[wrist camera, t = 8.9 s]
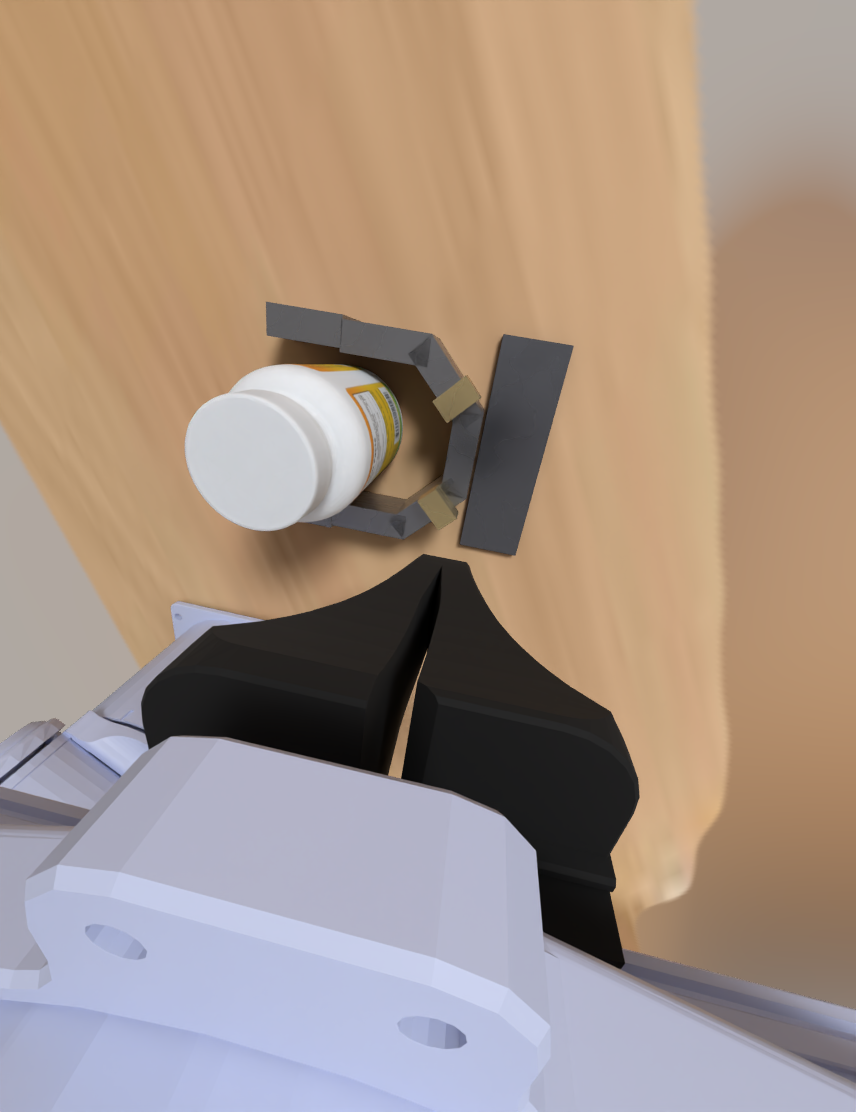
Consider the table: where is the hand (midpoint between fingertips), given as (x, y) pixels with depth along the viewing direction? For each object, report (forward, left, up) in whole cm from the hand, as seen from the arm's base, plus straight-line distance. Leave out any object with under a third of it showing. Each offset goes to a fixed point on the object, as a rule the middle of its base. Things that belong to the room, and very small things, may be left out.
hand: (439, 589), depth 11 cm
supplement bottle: (+2, +6, -11) cm, 13 cm away
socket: (+2, +3, -10) cm, 11 cm away
